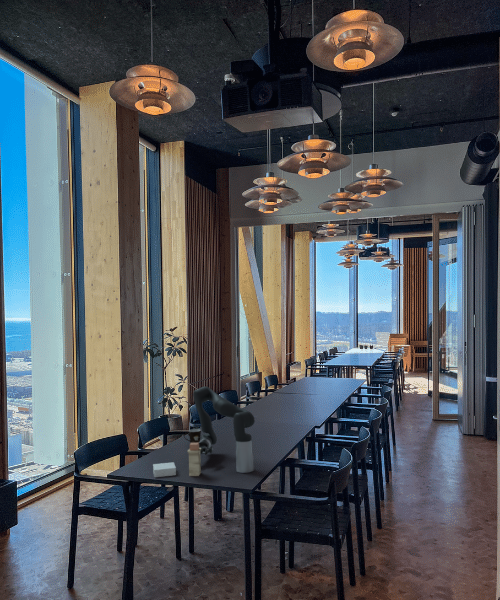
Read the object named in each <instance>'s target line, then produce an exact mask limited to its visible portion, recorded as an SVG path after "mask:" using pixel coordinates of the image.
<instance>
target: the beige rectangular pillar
mask: <svg viewBox="0 0 500 600" xmlns="http://www.w3.org/2000/svg"><path fill="white" fill-rule="evenodd" d="M188 449H189V448H188ZM188 449H187V453H188V452H189V453H188V473H189V474H188V475H189V476H188V477H200V475H201V473H202V466H201V464H202V463H201V462H202V461H201V454H200V450H201V448H199V449H198V450H190V449H189V450H188Z"/></svg>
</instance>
